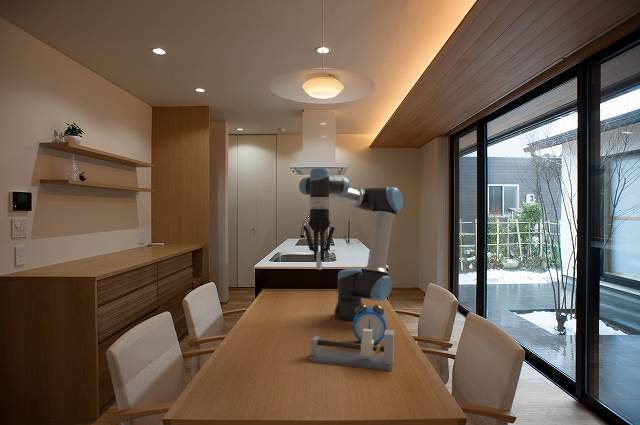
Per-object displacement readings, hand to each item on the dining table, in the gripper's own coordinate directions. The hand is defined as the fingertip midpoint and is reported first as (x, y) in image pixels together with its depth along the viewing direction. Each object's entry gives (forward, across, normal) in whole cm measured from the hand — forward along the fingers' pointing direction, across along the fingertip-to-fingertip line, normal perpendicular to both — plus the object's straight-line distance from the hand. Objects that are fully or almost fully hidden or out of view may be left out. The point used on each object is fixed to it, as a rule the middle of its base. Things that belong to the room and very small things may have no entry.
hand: (319, 268), depth 145 cm
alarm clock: (+30, +19, +7) cm, 36 cm away
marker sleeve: (+27, +21, -12) cm, 36 cm away
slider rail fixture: (+29, +15, -12) cm, 35 cm away
